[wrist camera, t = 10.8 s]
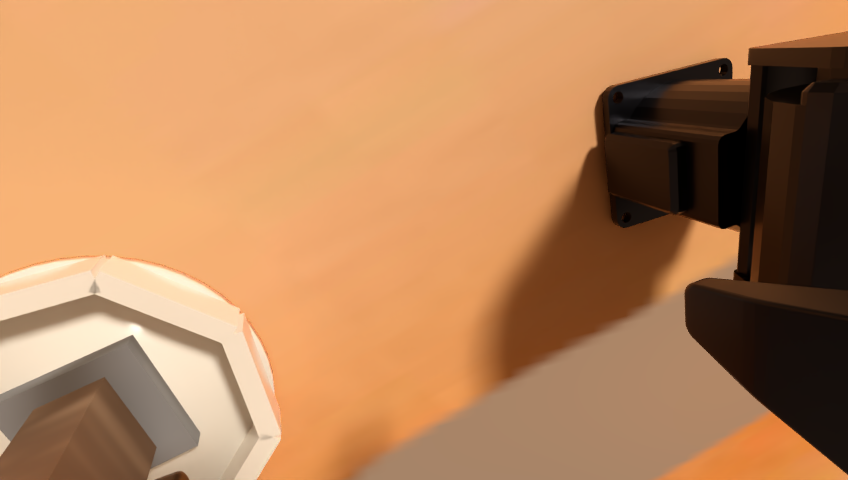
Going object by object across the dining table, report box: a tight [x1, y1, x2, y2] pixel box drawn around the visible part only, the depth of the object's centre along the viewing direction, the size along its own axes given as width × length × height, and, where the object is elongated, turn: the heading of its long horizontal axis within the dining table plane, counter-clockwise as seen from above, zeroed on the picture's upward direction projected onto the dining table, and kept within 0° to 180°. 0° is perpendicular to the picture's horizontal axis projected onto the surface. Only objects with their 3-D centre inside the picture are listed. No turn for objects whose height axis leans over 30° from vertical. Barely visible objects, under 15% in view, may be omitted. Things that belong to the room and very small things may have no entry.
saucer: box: [0, 255, 281, 480], centre depth 19 cm, size 12×12×2 cm
